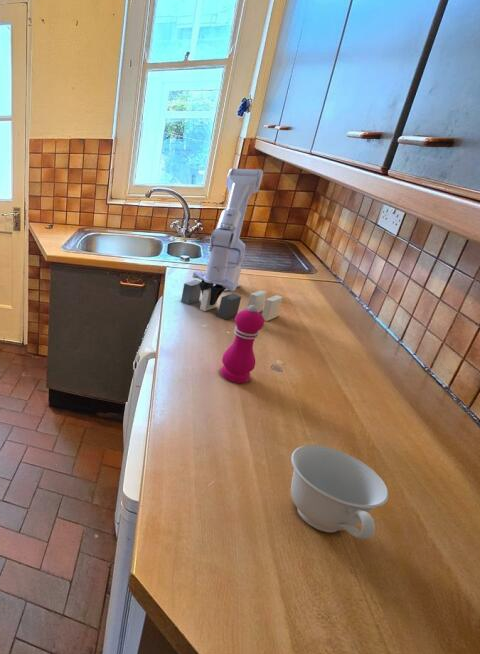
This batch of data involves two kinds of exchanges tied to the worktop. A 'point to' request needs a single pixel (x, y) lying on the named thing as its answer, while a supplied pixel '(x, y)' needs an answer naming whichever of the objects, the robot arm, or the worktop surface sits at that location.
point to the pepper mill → (242, 346)
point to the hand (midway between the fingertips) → (208, 303)
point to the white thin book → (207, 301)
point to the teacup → (335, 490)
